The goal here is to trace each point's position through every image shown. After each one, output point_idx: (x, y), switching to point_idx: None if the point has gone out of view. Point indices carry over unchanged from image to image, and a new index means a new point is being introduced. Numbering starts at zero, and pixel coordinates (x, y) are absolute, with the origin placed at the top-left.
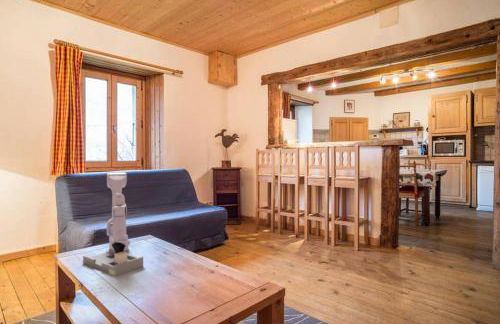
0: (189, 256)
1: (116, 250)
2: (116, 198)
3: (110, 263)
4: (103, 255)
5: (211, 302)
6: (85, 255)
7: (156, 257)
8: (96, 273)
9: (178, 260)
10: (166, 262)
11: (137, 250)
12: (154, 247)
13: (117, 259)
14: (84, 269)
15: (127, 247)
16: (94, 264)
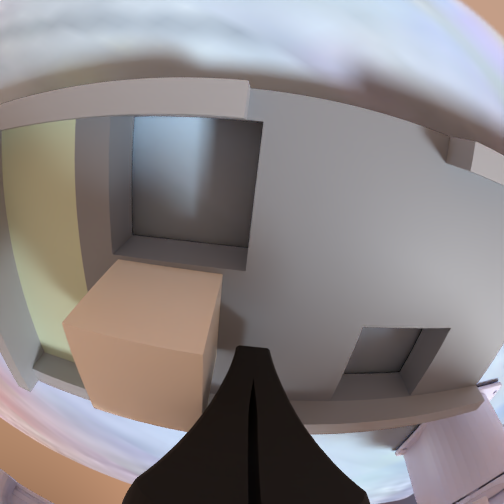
0: (70, 452)
1: (233, 427)
2: None
3: (250, 230)
4: (480, 333)
5: None
6: None
7: (151, 446)
8: (232, 25)
9: (50, 424)
10: (51, 404)
11: (345, 465)
12: None
13: (138, 290)
14: (447, 66)
15: (407, 458)
16: (422, 127)
